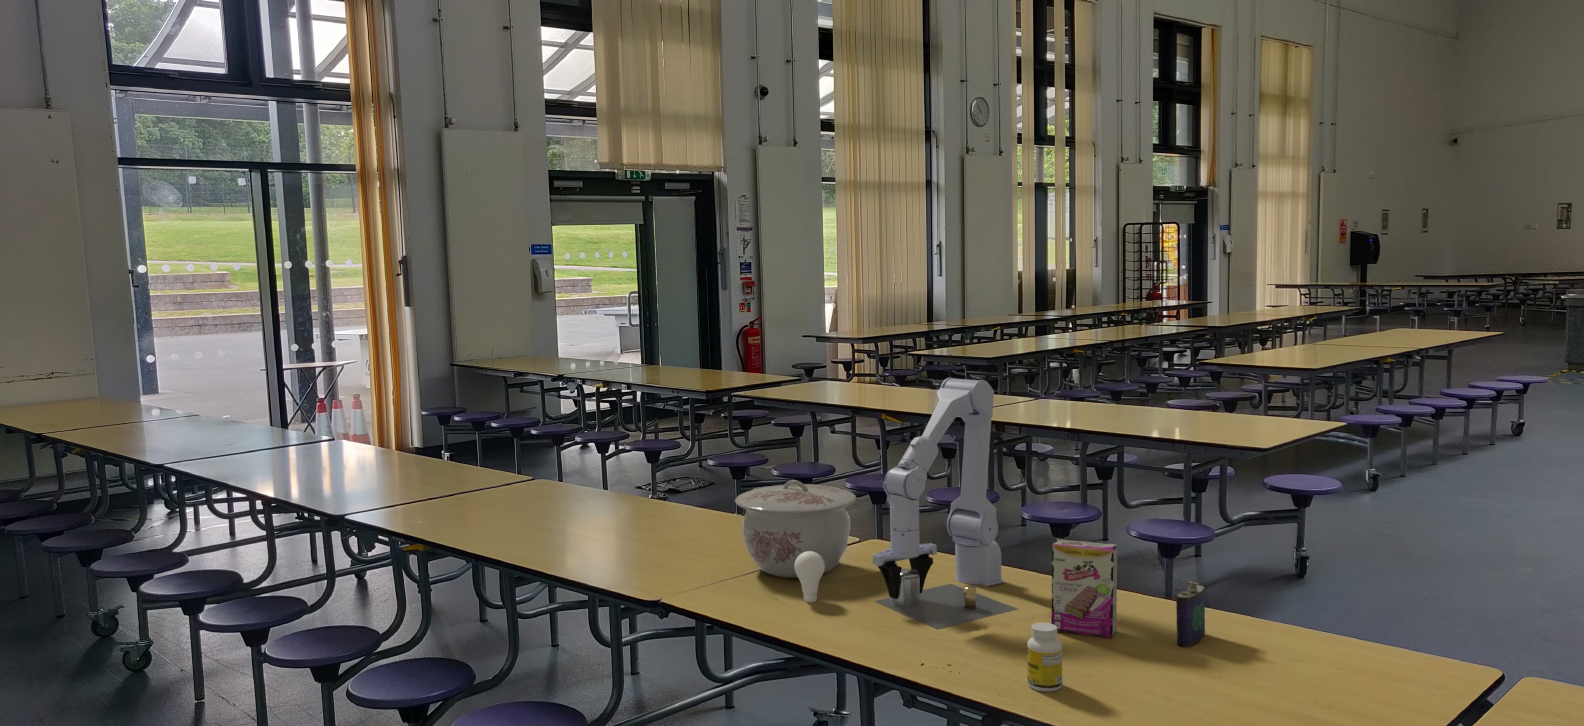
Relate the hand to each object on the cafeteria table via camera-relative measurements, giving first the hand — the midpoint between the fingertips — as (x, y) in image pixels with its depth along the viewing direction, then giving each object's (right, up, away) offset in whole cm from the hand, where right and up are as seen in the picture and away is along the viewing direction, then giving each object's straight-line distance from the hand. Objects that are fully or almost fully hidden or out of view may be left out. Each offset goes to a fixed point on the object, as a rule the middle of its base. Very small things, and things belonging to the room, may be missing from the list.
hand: (905, 594), depth 205 cm
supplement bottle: (+18, -6, -40) cm, 44 cm away
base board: (+7, -2, -2) cm, 8 cm away
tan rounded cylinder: (+12, -2, -4) cm, 13 cm away
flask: (+49, -3, -22) cm, 53 cm away
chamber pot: (-22, -1, +28) cm, 35 cm away
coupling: (0, -1, 0) cm, 1 cm away
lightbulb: (-19, -3, +3) cm, 19 cm away
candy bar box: (+31, -3, -16) cm, 35 cm away
